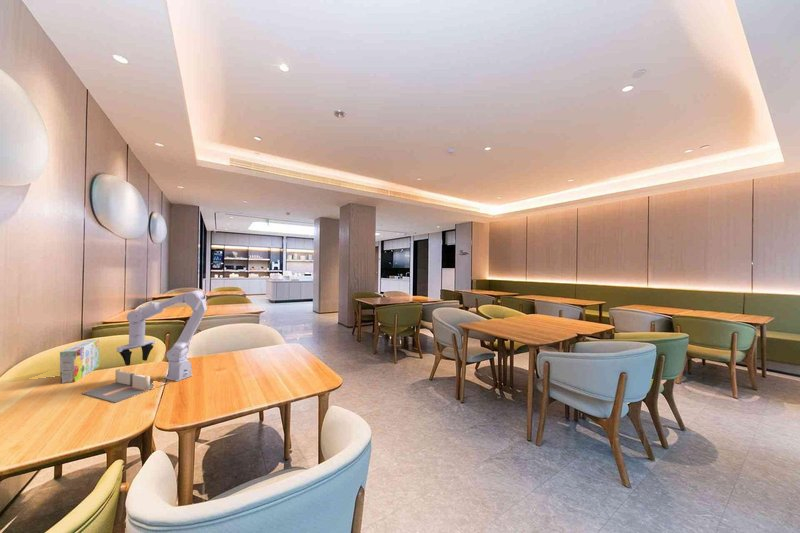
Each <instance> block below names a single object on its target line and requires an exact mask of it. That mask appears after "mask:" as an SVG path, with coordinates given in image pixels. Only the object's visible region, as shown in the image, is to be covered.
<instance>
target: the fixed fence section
mask: <svg viewBox="0 0 800 533" xmlns="http://www.w3.org/2000/svg"><path fill="white" fill-rule="evenodd" d="M150 379H151V376H150V375H142V374H137V373H134V375H133V382H132V387H136V388H140V389H144V390H149V389H150ZM149 391H150V390H149Z"/></svg>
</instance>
